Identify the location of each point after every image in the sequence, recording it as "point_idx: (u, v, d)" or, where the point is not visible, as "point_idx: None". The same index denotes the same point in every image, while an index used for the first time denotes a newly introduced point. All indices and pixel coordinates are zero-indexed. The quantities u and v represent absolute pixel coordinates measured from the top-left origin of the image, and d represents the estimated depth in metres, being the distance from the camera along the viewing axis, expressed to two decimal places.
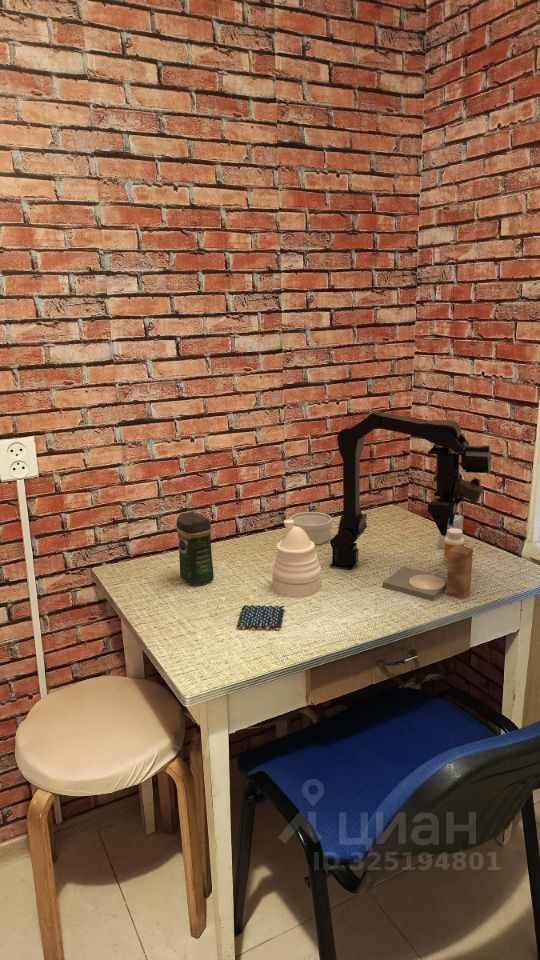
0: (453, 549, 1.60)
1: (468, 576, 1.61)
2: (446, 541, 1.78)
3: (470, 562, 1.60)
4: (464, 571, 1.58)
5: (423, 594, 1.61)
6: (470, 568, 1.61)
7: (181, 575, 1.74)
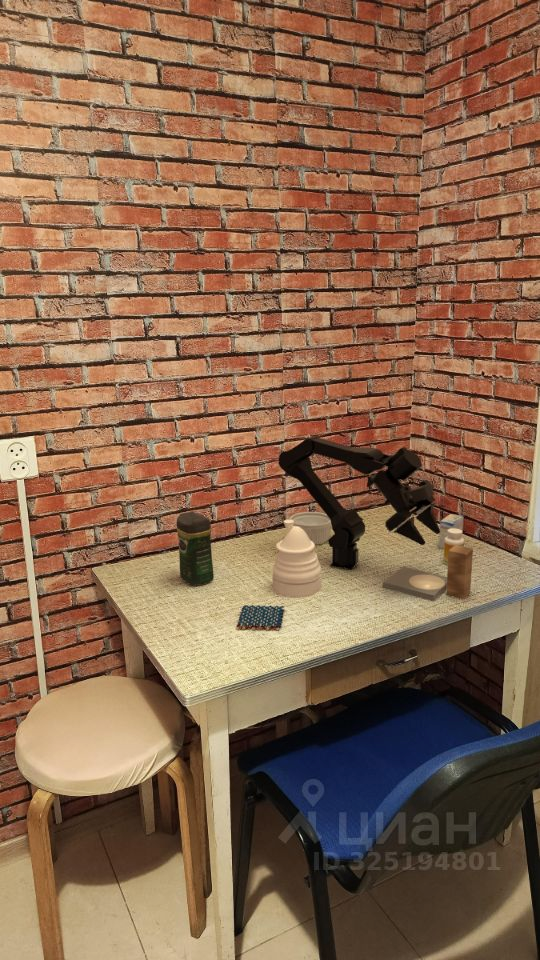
0: (453, 549, 1.60)
1: (468, 576, 1.61)
2: (446, 541, 1.78)
3: (470, 562, 1.60)
4: (464, 571, 1.58)
5: (423, 594, 1.61)
6: (470, 568, 1.61)
7: (181, 575, 1.74)
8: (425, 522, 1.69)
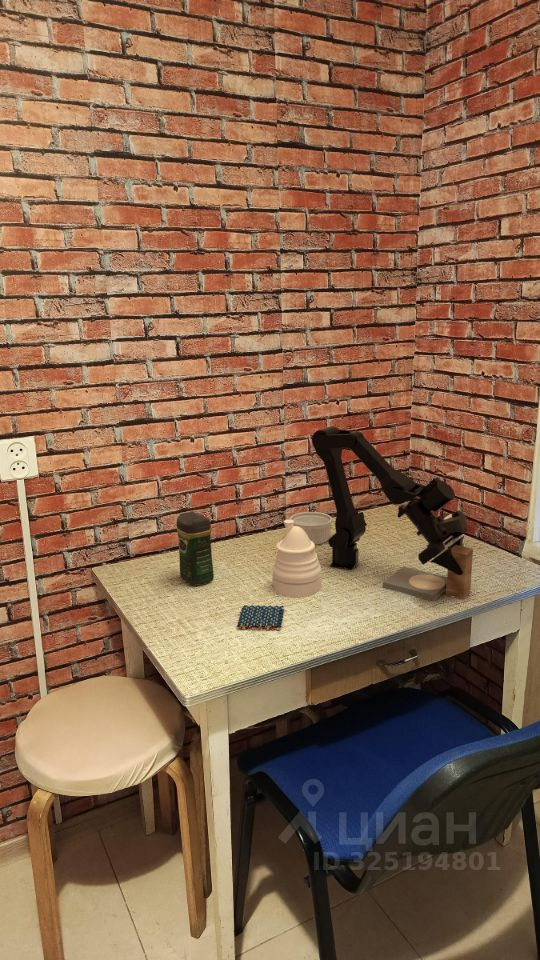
0: (453, 549, 1.60)
1: (469, 576, 1.60)
2: None
3: (470, 562, 1.60)
4: (464, 571, 1.58)
5: (423, 594, 1.61)
6: (470, 568, 1.61)
7: (181, 575, 1.74)
8: None
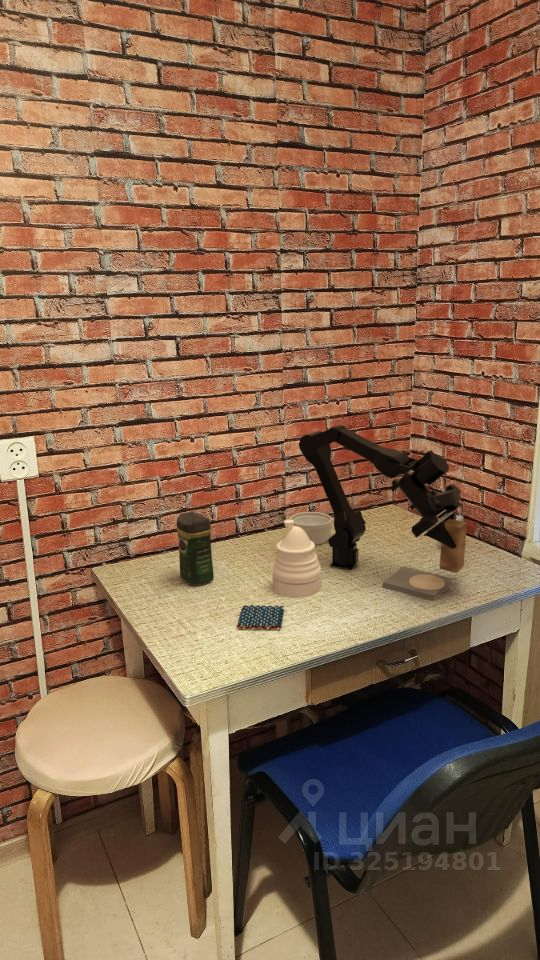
0: (447, 522, 1.59)
1: (462, 550, 1.60)
2: None
3: (464, 536, 1.59)
4: (458, 545, 1.57)
5: (423, 594, 1.61)
6: (464, 542, 1.60)
7: (181, 575, 1.74)
8: None
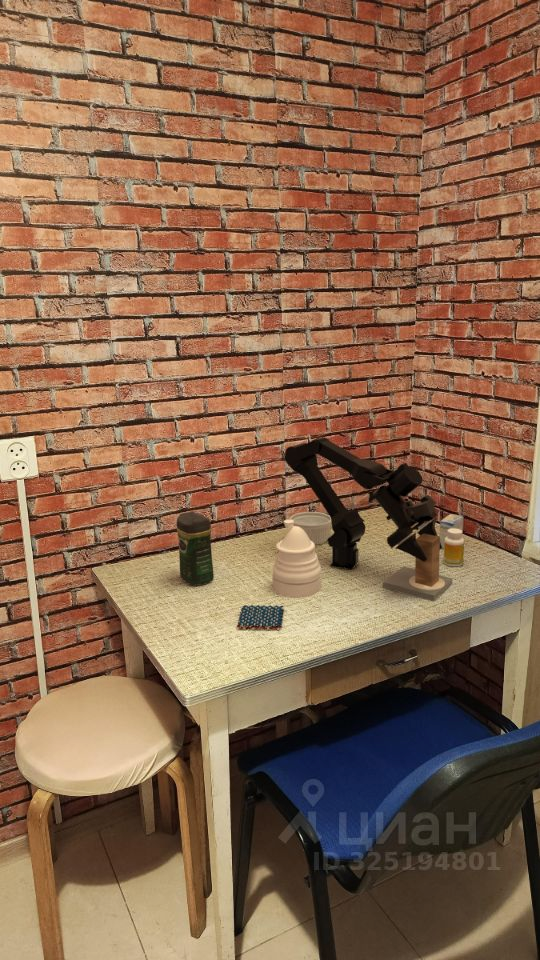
0: (420, 537, 1.63)
1: (436, 563, 1.64)
2: (446, 541, 1.78)
3: (437, 550, 1.63)
4: (431, 559, 1.61)
5: (423, 594, 1.61)
6: (437, 556, 1.64)
7: (181, 575, 1.74)
8: None
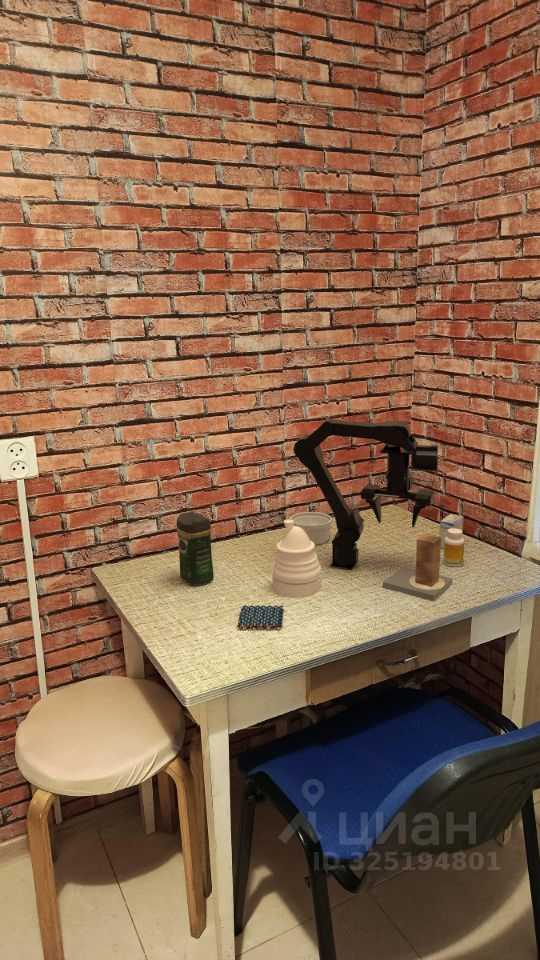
0: (421, 538, 1.63)
1: (437, 564, 1.64)
2: (446, 541, 1.78)
3: (438, 550, 1.63)
4: (432, 559, 1.61)
5: (423, 594, 1.61)
6: (438, 556, 1.64)
7: (181, 575, 1.74)
8: (378, 509, 1.74)
